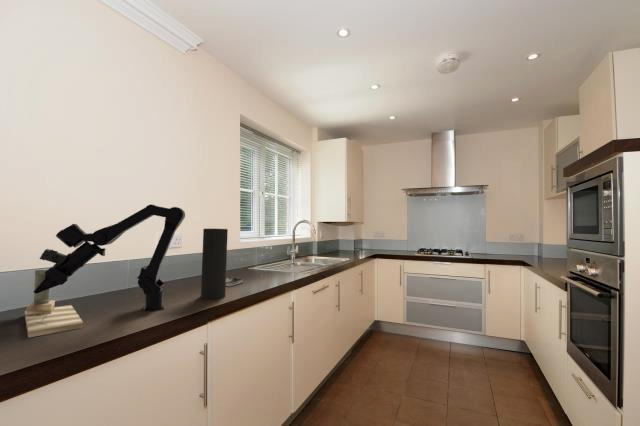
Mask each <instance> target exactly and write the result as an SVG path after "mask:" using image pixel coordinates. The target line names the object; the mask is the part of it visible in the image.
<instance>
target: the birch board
mask: <svg viewBox="0 0 640 426" xmlns="http://www.w3.org/2000/svg"><path fill="white" fill-rule="evenodd" d="M24 319H25V325H26V333H27V337H28V338H32V337H38V336H39V337H40V336H45V335H50V334H56V333H60V332H66V331H67V332H68V331H71V330H77V329H82V328H84V322H83V320H82V318H81V317H80V315H79V314H78V313H77V311H76V310H75V308H74V307H73V306H72V304H69V305H67V304H66V305H62V306H55V307H54V310H53V312H52V313H49V314H41V315H33V316H26V310H25V311H24Z"/></svg>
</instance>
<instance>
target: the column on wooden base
mask: <svg viewBox="0 0 640 426" xmlns="http://www.w3.org/2000/svg"><path fill="white" fill-rule="evenodd" d="M48 269H49V268H46V269H37V270H36V269H35V270H34V289H33V291H34V290H35V289H36V288H37V287H38V286H39V285H40V284H41V283H42V281H43V280H44V279H45V273H44V272H46V271H47V270H48ZM49 297H50V289H47V290H45V291H42V292H40V293H37V294H35V293H34V292H33V302H30V303H29V304H28V305H27V306H26V310H25V311H26V316H33V315H41V314H49V313H52V312H53V310H54V307H56V306H55V301H56V300H53V299H51V300H49Z"/></svg>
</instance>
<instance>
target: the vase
mask: <svg viewBox="0 0 640 426" xmlns="http://www.w3.org/2000/svg"><path fill="white" fill-rule="evenodd" d="M202 234H203V235H202V254H201V255H202V258H201V261H202V262H201V280H200V281H201V285H200V298H201V299H203V300H218V299H222V298H224V297H226V287H227V286H226V284H227V283H226V278H227V263H228V262H227V257H228V256H227V255H228V228H203V233H202Z"/></svg>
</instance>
